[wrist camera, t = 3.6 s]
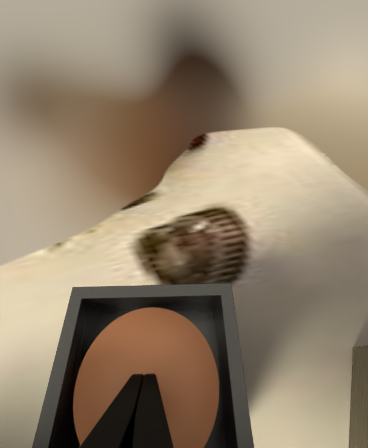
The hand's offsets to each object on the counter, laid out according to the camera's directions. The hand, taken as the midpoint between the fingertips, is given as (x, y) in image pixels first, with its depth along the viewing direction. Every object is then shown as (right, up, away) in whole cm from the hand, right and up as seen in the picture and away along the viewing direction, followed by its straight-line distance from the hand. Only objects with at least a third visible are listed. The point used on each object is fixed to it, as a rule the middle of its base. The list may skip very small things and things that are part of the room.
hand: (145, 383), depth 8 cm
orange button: (0, -2, +2) cm, 3 cm away
